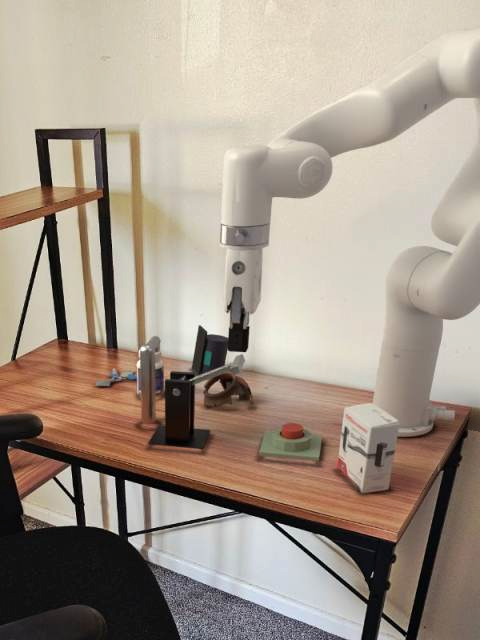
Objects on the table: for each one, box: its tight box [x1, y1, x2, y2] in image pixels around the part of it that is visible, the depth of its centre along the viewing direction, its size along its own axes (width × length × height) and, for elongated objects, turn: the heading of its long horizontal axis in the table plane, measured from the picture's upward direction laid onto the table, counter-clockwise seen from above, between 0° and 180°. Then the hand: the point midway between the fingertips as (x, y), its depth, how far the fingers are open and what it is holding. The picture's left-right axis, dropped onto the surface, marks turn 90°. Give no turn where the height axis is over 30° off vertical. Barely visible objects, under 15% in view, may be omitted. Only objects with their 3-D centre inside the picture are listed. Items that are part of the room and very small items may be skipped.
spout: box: [139, 335, 162, 425], centre depth 136 cm, size 4×9×16 cm, turn 162°
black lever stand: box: [148, 370, 212, 450], centre depth 128 cm, size 10×8×13 cm
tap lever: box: [175, 353, 246, 386], centre depth 123 cm, size 13×6×2 cm, turn 73°
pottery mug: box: [202, 371, 254, 407], centre depth 144 cm, size 12×10×8 cm
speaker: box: [191, 324, 228, 376], centre depth 159 cm, size 8×6×10 cm
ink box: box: [337, 402, 399, 494], centre depth 113 cm, size 8×5×12 cm, turn 11°
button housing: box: [258, 426, 323, 462], centre depth 125 cm, size 10×9×4 cm
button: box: [281, 422, 304, 440], centre depth 124 cm, size 4×4×2 cm
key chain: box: [94, 368, 137, 387], centre depth 162 cm, size 14×8×1 cm, turn 118°
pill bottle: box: [136, 349, 165, 397], centre depth 149 cm, size 6×6×10 cm
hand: (237, 350), depth 119 cm, fingers closed
